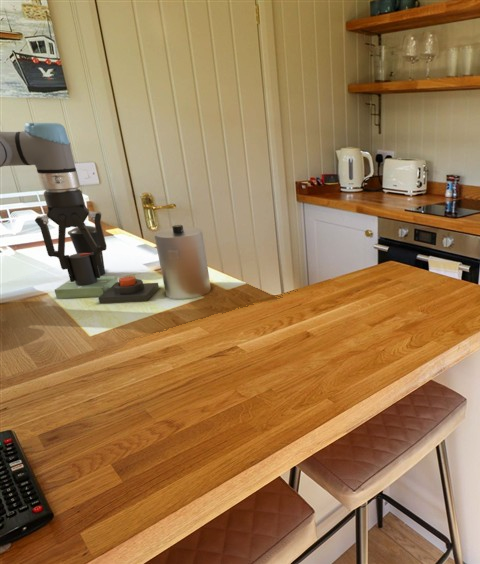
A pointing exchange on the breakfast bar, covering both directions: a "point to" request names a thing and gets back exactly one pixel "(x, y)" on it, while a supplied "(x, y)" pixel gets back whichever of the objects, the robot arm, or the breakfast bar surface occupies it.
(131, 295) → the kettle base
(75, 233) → the drinking cup
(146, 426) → the breakfast bar surface
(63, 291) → the dial panel
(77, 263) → the dial
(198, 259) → the metal canister
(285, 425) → the breakfast bar surface
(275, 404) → the breakfast bar surface
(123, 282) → the power switch
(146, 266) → the breakfast bar surface
